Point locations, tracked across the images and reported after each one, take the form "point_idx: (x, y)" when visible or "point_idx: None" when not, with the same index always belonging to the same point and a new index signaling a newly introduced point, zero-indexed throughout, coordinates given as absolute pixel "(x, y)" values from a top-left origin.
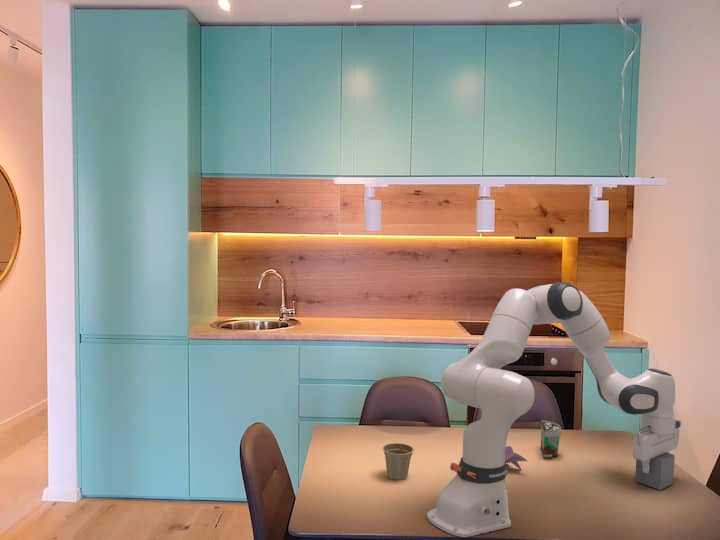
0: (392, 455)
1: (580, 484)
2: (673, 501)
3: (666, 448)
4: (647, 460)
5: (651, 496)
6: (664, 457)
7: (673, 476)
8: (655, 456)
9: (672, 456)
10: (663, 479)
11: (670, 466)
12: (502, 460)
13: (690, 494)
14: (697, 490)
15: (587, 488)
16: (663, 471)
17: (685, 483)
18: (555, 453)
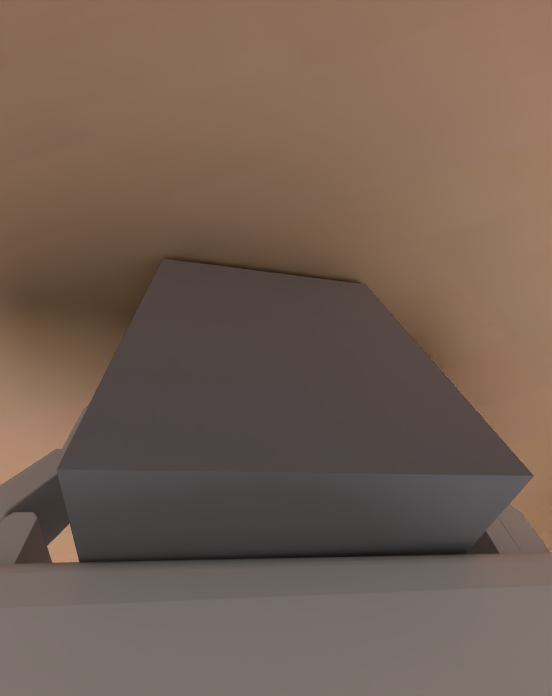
0: None
1: None
2: (511, 136)
3: (109, 674)
4: (541, 542)
5: (487, 288)
6: (353, 504)
7: (150, 283)
8: (466, 566)
9: (164, 463)
10: (347, 311)
11: (226, 356)
12: None
13: (248, 52)
14: (67, 16)
15: (524, 489)
16: (383, 356)
17: (12, 189)
18: None
